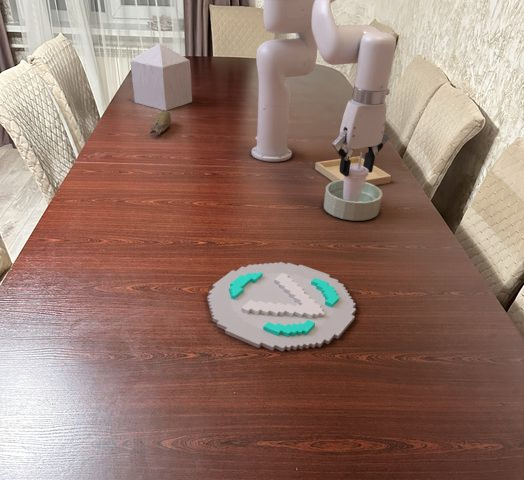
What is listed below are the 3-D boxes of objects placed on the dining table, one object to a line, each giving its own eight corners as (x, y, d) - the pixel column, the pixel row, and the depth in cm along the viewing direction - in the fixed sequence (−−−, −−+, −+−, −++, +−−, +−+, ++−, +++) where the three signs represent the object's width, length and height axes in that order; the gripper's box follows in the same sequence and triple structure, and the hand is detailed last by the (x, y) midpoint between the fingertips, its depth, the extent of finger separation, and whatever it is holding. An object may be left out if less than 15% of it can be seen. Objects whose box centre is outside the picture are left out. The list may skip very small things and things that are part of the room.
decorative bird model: (175, 122, 184) (174, 107, 181) (162, 140, 169) (160, 124, 166) (161, 121, 185) (160, 106, 181) (146, 139, 169) (145, 123, 166)
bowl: (312, 202, 139) (315, 184, 135) (358, 194, 144) (361, 176, 141) (342, 225, 129) (345, 206, 126) (390, 216, 134) (394, 197, 131)
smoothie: (361, 212, 134) (371, 158, 124) (336, 209, 134) (345, 155, 125) (362, 202, 138) (372, 149, 129) (338, 198, 139) (347, 145, 130)
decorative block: (192, 101, 205) (190, 43, 192) (166, 110, 194) (161, 49, 181) (161, 94, 211) (157, 37, 198) (133, 102, 200) (127, 43, 187)
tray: (314, 168, 157) (315, 162, 155) (357, 162, 162) (358, 156, 161) (345, 190, 145) (346, 183, 144) (390, 182, 151) (391, 175, 150)
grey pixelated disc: (310, 371, 87) (311, 363, 86) (179, 313, 98) (179, 306, 97) (375, 294, 106) (376, 287, 105) (259, 253, 117) (259, 246, 116)
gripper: (389, 88, 124) (375, 162, 136) (328, 93, 118) (318, 171, 130) (409, 97, 119) (392, 173, 131) (346, 103, 113) (334, 183, 125)
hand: (355, 171), depth 130 cm, fingers closed on smoothie, 6 cm apart
